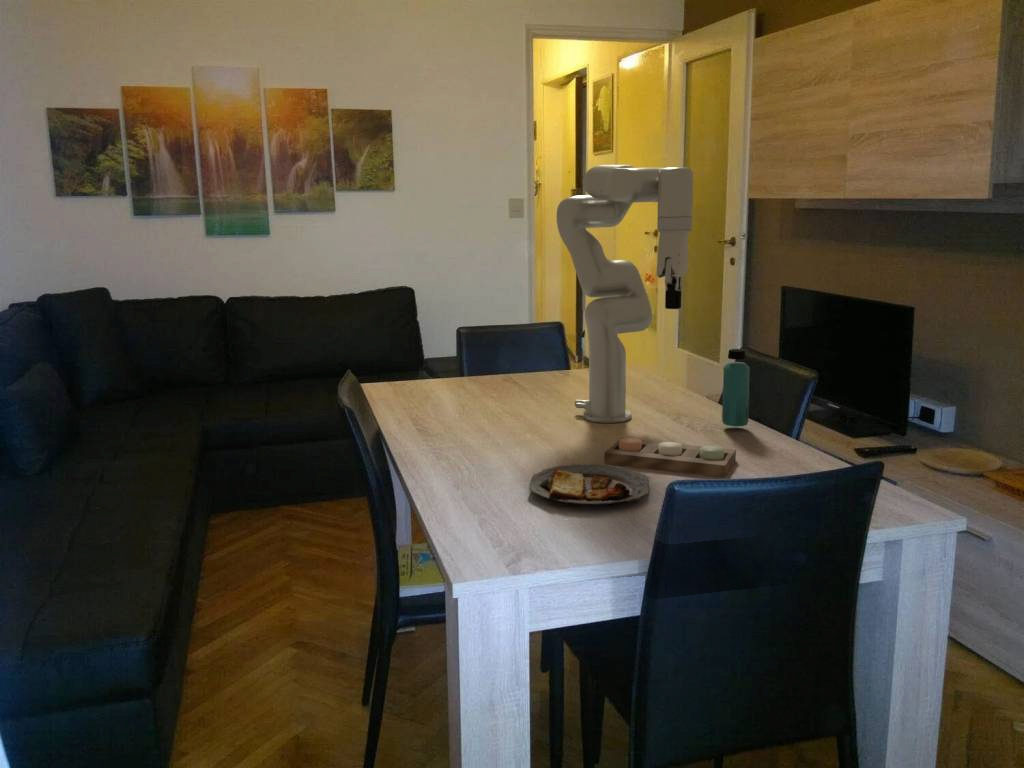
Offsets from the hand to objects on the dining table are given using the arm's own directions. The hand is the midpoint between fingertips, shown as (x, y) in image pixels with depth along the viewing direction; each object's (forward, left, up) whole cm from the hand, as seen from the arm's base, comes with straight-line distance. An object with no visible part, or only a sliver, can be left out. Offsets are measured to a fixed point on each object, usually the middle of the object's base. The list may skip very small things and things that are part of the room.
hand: (673, 308), depth 192 cm
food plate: (-7, -36, -33) cm, 49 cm away
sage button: (+12, -12, -32) cm, 36 cm away
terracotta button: (-6, -12, -32) cm, 35 cm away
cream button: (+3, -12, -32) cm, 34 cm away
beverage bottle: (+11, +20, -32) cm, 40 cm away
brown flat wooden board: (+3, -12, -32) cm, 34 cm away
